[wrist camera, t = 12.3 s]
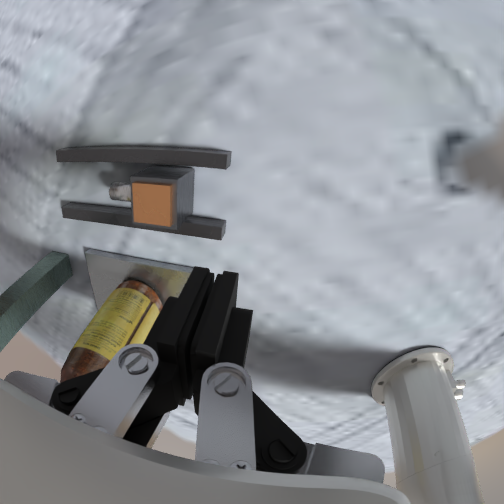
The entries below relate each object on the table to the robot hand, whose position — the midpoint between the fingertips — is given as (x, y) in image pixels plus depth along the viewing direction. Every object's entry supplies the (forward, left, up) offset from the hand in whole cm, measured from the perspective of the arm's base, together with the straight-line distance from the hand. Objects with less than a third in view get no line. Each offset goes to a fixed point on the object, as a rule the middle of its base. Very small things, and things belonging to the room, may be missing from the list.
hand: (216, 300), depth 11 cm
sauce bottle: (+11, +13, -14) cm, 23 cm away
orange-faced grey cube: (+9, 0, -14) cm, 17 cm away
